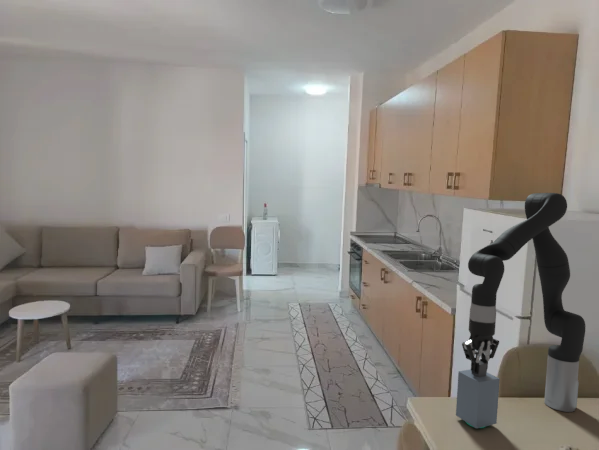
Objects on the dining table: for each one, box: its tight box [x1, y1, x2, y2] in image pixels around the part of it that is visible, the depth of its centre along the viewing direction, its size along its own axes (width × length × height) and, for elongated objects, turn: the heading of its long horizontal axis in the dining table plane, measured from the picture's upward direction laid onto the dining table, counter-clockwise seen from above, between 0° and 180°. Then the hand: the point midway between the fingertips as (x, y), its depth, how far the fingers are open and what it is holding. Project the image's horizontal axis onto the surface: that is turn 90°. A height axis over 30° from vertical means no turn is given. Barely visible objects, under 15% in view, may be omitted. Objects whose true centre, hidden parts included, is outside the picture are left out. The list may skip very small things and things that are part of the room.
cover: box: [455, 359, 500, 429], centre depth 133 cm, size 8×8×18 cm
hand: (478, 372), depth 132 cm, fingers closed on cover, 3 cm apart
